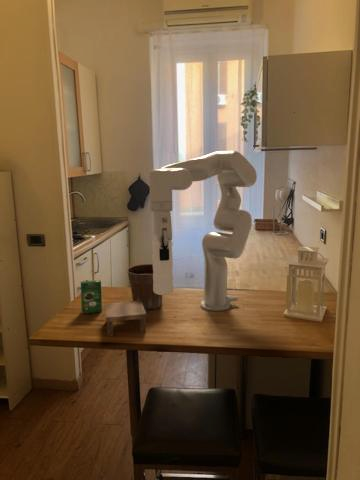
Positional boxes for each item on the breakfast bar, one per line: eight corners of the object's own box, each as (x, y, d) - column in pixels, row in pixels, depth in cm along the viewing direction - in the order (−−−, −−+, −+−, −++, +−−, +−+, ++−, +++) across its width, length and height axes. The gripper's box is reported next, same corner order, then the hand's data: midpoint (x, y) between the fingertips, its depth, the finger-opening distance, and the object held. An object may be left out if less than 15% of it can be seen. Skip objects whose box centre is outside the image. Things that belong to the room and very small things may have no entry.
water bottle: (154, 288, 138) (152, 220, 133) (173, 288, 138) (172, 220, 133) (152, 295, 132) (150, 224, 127) (172, 295, 131) (171, 224, 126)
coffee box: (101, 309, 159) (100, 279, 156) (102, 311, 156) (101, 281, 154) (81, 312, 156) (79, 281, 154) (82, 314, 153) (80, 283, 151)
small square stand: (141, 317, 150) (141, 300, 149) (146, 332, 137) (146, 313, 136) (105, 320, 147) (104, 303, 146) (107, 336, 134) (106, 317, 132)
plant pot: (121, 310, 158) (120, 272, 155) (137, 297, 173) (136, 262, 170) (158, 314, 153) (157, 275, 150) (171, 300, 168) (170, 265, 165)
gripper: (177, 209, 121) (178, 263, 125) (167, 203, 138) (168, 251, 142) (154, 209, 120) (155, 264, 123) (146, 204, 136) (148, 252, 140)
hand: (162, 257), depth 132 cm, fingers closed on water bottle, 6 cm apart
